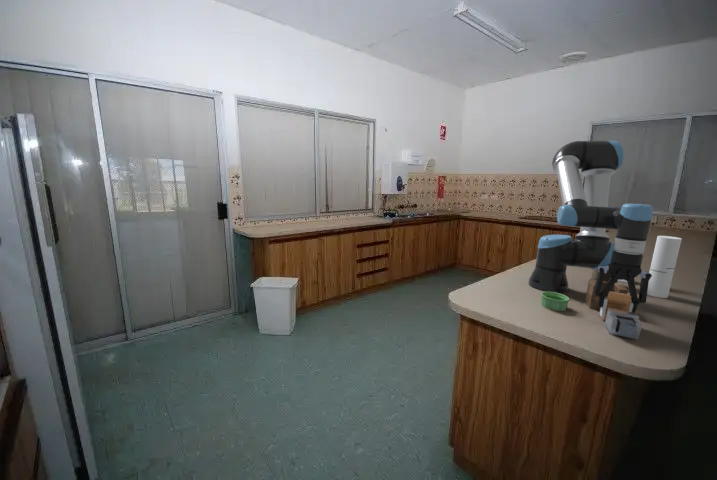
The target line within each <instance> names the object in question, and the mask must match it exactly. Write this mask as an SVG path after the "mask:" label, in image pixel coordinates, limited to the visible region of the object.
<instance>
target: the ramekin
mask: <svg viewBox="0 0 717 480" xmlns="http://www.w3.org/2000/svg"><path fill="white" fill-rule="evenodd" d="M540 295H541V307H544V308H545V309H548V310H552V311H557V312H563V311H566V310H567V307H568V304H569V302H570V300H571V299H570V298H569V296H567V295H565V294H562V293H561V292H549V291H543V292H541V294H540Z"/></svg>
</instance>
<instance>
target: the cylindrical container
mask: <svg viewBox="0 0 717 480" xmlns="http://www.w3.org/2000/svg"><path fill="white" fill-rule="evenodd" d="M682 240H683V238H681V237H678V236H670V235H668V236H667V235H657V237H656V241H655V245H654V250H653V253H652V259H651V264H650V268H649V273H650V274H651V275H652V277H651V278H650V280H649V283H648V290H647V296H651V297H655V298H663V299H667V298H668V297H669V293H670V290H671V284H672V282H673V281H672V280H673V276H674V272H675V270H676V269H675V268H676V265H677V260H678V256H679V252H680V249H681V244H682Z"/></svg>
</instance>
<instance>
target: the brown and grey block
mask: <svg viewBox="0 0 717 480" xmlns="http://www.w3.org/2000/svg"><path fill="white" fill-rule="evenodd" d="M606 298H607V299H608V301H607V306H606V311H605V316H604V318H603V317H601V319H602V320H603V321H606V316H607V311H608V308H611V309H617V310H623V311H628V310H629V305H630V301H632V300H631V295H630V293H628V294H624V293H617V292H611V291H609V293H608V294H607V296H606ZM615 316H616V315H615ZM616 317H617V318H618V321H617V326H616V330H617V332H618V333H619V335H622V336H621V337H623V336H627V337H626V338H628V337H632V338H631V339H633V338H635V335H636V331H637V326H636V325H635V323H634V322H633V321H632V320H631V319H630V318H628V317H622V316H616Z"/></svg>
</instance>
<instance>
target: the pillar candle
mask: <svg viewBox="0 0 717 480" xmlns="http://www.w3.org/2000/svg"><path fill="white" fill-rule="evenodd" d="M598 273H599V272H598V269H592V272H591V276H590V280H597V277H598ZM610 276H611V272H610V271H609V270H607V273H605V276H604V280H603V281H605V282H608V280H609V278H610ZM618 282H619V281H618V280H617V282H615V283H618Z"/></svg>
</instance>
